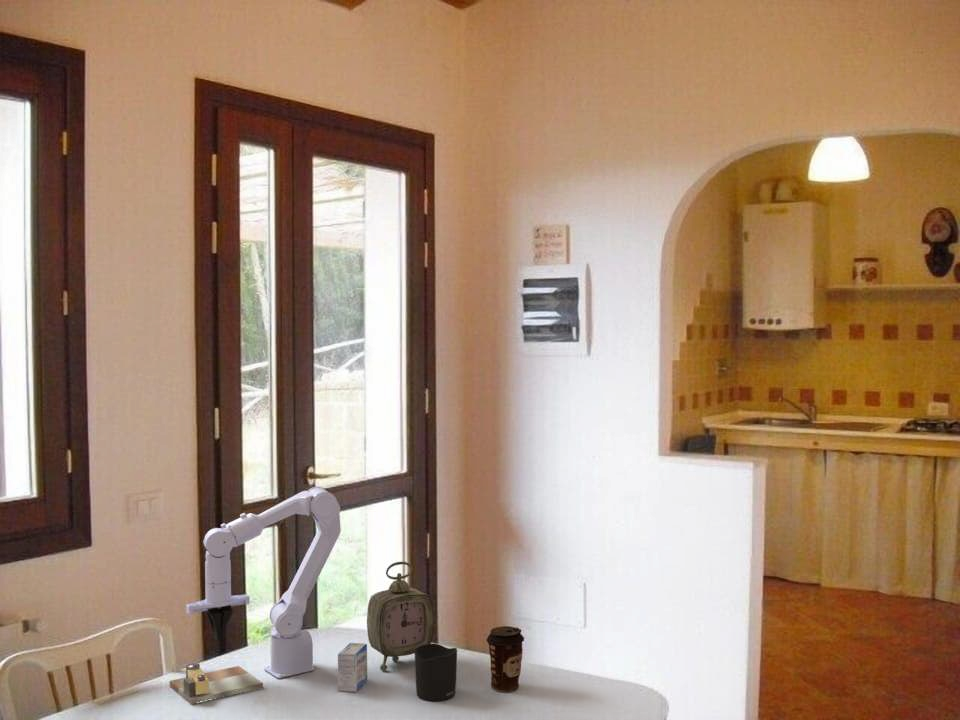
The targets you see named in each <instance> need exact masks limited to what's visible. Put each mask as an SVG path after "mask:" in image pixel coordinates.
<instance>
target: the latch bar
mask: <svg viewBox="0 0 960 720" xmlns="http://www.w3.org/2000/svg"><path fill="white" fill-rule="evenodd" d="M200 666H201V664H200V663H196V662H195V663H189V664H186V666H185V677H186V678H190V679H191V680H192V681H194V682H195V695H199V694H205V693H209V680H208V678H207V677H206V675H205V674H204V670H202V668H201V667H200Z"/></svg>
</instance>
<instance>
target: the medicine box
mask: <svg viewBox="0 0 960 720" xmlns="http://www.w3.org/2000/svg"><path fill="white" fill-rule="evenodd" d="M367 681H368V644H367V643H362V642H361V643H360V642H349V643H348V644H347V645H346V646H345V647H344V648H343V649H342V650H341V651H340V652H339V653H337V682H338V683H337V684H338V685H337V686H338V689H337V690H338V691H339V692H347V693H348V692H349V693H358V691H359V690H360V689H361V687H363V685H364V684H365V683H366V682H367Z"/></svg>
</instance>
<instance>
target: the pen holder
mask: <svg viewBox="0 0 960 720" xmlns="http://www.w3.org/2000/svg"><path fill="white" fill-rule="evenodd" d="M457 662H458V648H456V647H452V648H451V647H450V648H449V647H446V646H443V645H441V644H438V643H431V644H425V645H421V646H419V647H417V648H416V649H415V653H414V667H415V668H414V669H415V689H416V691H415V692H416V696H417V697H418V698H419V699H420V700H423V701H425V702H444V701H448V700H451V699H452V698H454V696H455V695H456V691H457V690H456V689H457V665H458V664H457Z"/></svg>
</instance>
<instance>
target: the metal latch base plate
mask: <svg viewBox="0 0 960 720" xmlns="http://www.w3.org/2000/svg"><path fill="white" fill-rule="evenodd" d="M204 674H205V675H206V677H207V678H208V680H209V693H205V694H199V695H195V682H194V681H192V680H191V679H190V678H186V676H185V677H182V678H177V679H173V680H169V687H170V688H171V689H172V690H173V691H175V692H176V693H177V694H178V696H180V697H182V698H183V699H184V700H185V701H186V702H187V701H188V702H189V705H191V704H193V705H195V704H194V703H197V702H200V701H205V700H209V699H214V700H216V699H215V698H219V699H221V698H220V697H223V696H224V697H223V698H226V697H225V696H227V697H230V696H229V695H231V696H234V695H235V694H236V695H239V693H240V694H242V692H244V693H247V692H246V691H248V692H251V691H252V690H253V691H256V690H255V689H257V690H261V689H264V683H263V681H261V680H259V679H258V678H257V677H256V676H254V675H253V674H251V673H249V672H248V671H246V670H245V669H244V668H242V667H241V666H240V665H237V666H232V667H227V668H223V669H218V670H214V671H209V672H205V673H204ZM260 688H261V689H260ZM253 691H252V692H253ZM233 694H234V695H233ZM188 702H187V703H188ZM197 704H198V703H197Z"/></svg>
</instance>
